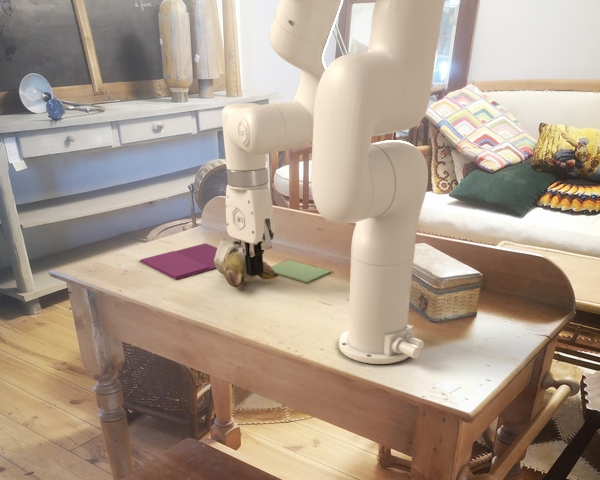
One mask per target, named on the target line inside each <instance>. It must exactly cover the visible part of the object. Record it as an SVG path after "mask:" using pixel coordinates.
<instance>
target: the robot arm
mask: <svg viewBox="0 0 600 480" xmlns="http://www.w3.org/2000/svg"><path fill="white" fill-rule="evenodd" d="M445 1H446V0H375V3H374V6H373V10H372V16H371V26H370V27H371V28H370V35H369V36H370V37H369V42H368V43H369V44H368V48H367V51H366V52H353V53H347V54H343V55H341V56H338V57H337V58H335V59H333V61H331V62H330V63H329V64H328V66H326V63H325V61H324V55H325V51H326V48H327V46H328V44H329V40H330V39H331V38H330V37H331V35H332V31H333V29H334V27H335V25H336V22H337V19H338V16H339V13H340V11H341V8H342V5H343V2H344V0H279V1H278V3H277V7H276V10H275V13H274V17H273V21H272V24H271V27H270V31H269V43H270V45H271V48H272V49H273V51H274V52H275V53H276V54H277V55H278V56H279V57H280V58H281V59H282V60H284V61H286V62H287V63H288V64H290V65H292V66H293V67H295V68H298V69H299V70H300V80H299V83H298V87H297V90H296V92H295V95H294V97H293V100H292V101H283V102H275V103H267V104H258V103H253V102H239V103H237V102H236V103H231V104H227V105H225V106H224V107H223V108H222V111H221V123H222V134H223V145H224V155H225V166H226V177H227V178H226V179H227V185H226V188H225V189H226V190H225V222H226V233H227V235H228V236H229V237H231V238H233V239H234V241H238V242H239V243H240V244H241V246H242V251H243V254H244V255H245V254H246V255H245V264H246V274H248V275H250V276H255V275H257V276H258V274H261V273H263V271H264V270H263V262H264V254H265V251H266V250H270V249H272V248H273V245H272V240H274V238H275V235H276V234H275V232H276V230H275V229H276V227H275V226H276V225H275V215H274V206H273V201H272V195H271V189H270V186H269V169H268V155H269V154H274V153H278V152H284V151H285V152H286V151H290V150H298V149H301V148H304V147H306V146H308V145H310V143H312V144H311V145H312V146H311V147H312V148H311V165H310V166H311V167H310V168H311V170H310V172H311V173H310V185H311V186H310V188H311V195H312V199H313V203H314V206H315V208H316V210H317V212H318V214H319V215H320V216H321V217H322V218H323V220H325V221H326V222H328V223H330V224H334V225H348V224H352V223H355V226H354V229H353V234H352V238H351V244H350V247H351V248H350V272H349V273H350V274H349V299H348V300H349V301H348V329H346V330H345V331H344V332H342V333H341V335H340V336H339V339H338V349H339V350H340V352H341V353H342V354H343V355H345V356H346V357H347V358H349V359H352V360H354V361H356V362H361V363H365V364H370V365H371V364H372V365H387V364H394V363H398V362H401V361H405V360H406V359H408V358H412V359H414V360H415V359H418V357H420V355H421V353H422V349H423V348H424V346H425V342H424V341H423V340H421V339H419V338H416V337H414V336H413V333H414V332H413V331H414V326H413V325H411V324H409V314H410V304H411V292H412V281H413V269H414V259H415V251H416V250H415V249H416V240H417V232H418V227H419V220H420V216H421V212H422V208H423V205H424V201H425V197H426V194H427V191H428V190H427V189H428V183H429V168H428V165H427V160H426V159H425V156H424V154H423V153H422V152H421V150H420V149H419V148H418V147H416V146H415V145H414V144H411V143H410V142H408V141H403V140H384V141H378V142H372V137H377V136H383V135H388V134H394V133H400V132H404V131H408V130H411V129H413V128H414V127H416V126H418V125H419V124H420V123H421V122H422V121H423V119H424V117H425V116H426V113H427V111H428V108H429V105H430V99H431V92H432V86H433V80H434V75H435V74H434V73H435V67H436V62H437V54H438V47H439V41H440V35H441V24H442V19H443V12H444V6H445ZM371 142H372V143H371Z"/></svg>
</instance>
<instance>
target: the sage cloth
mask: <svg viewBox="0 0 600 480" xmlns="http://www.w3.org/2000/svg"><path fill="white" fill-rule="evenodd" d="M271 267H272V269H273V270H274V272H275V273H276V274H278V275H279V276H282V277H285V278H289V279H292V280H296V281H298V282H302V283H306V284H308V283H311V282H312V281H314V280H318V279H319V278H321V277H323V276H326V275H328V274H330V273H331V270H327V269H324V268H322V267H321V268H320V267H317V266H313V265H309V264H306V263H302V262H299V261H295V260H292V259H287V260H285V261H283V262H280V263H277V264H275V265H273V266H271Z"/></svg>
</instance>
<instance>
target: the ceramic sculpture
mask: <svg viewBox="0 0 600 480" xmlns="http://www.w3.org/2000/svg"><path fill="white" fill-rule="evenodd" d="M217 248H218V249H217V251H216V255H215V258H214V263H215V266H216V270H217V272H218V273H220V274H222V275H224V278H225V280H226V282H227V283H228V285H230V287H233V288H237V289H238V288H241V287H242V286H243V285H244V284H245V283H248V282H252V281H254V280H255V279H256V278H257V276H258V277H259V278H261V279H262V280H271V279H276V278H278V277H279V276H280V275H278V274H276V273H275V272H274V270H273V269H272V266H271V265H270V264H269V263H267V262H266V261H263V270H264V271H263V273H261V274H258V275H255V276H250V275H248V274H246V264H245V255H246V254H245V255H244V254H243V251H242V246H241V244H240V243H239V242H238V241H237V240H234V241H231V240H229V239H226V238H224V237H222V238H221V239H220V242H219V243H218V246H217Z"/></svg>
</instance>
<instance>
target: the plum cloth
mask: <svg viewBox="0 0 600 480" xmlns="http://www.w3.org/2000/svg"><path fill="white" fill-rule="evenodd" d="M217 249H218V247H215V246H213V245H211V244H208V243H201V244H198V245H194V246H190V247H186V248H182V249H179V250H178V249H177V250H172V251H168V252H164V253H160V254H157V255H153V256H149V257H144V258H141V259H139V262H140V263H142V264H144V265H146V266H148V267H150V268H152V269H154V270H156V271H158V272H160V273H162V274H164V275H166V276H168V277H170V278H172V279H174V280H180V279H184V278H188V277H191V276H194V275H195V276H196V275H198V274H201V273H205V272H208V271H212V270H215V269H216V270H217V268H216V266H215V263H214V258H215V255H216V251H217Z"/></svg>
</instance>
